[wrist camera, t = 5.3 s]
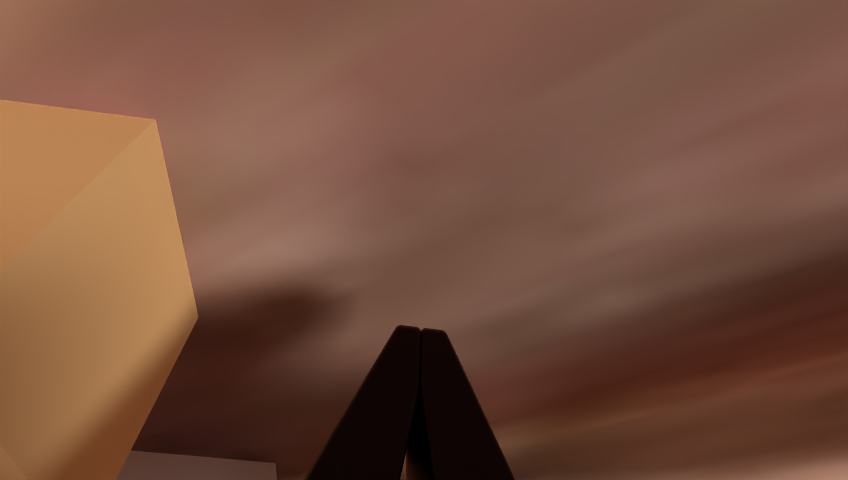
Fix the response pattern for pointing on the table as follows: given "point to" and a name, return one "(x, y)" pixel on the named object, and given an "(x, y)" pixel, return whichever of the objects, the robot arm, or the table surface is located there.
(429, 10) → the table surface
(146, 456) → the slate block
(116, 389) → the mustard block
